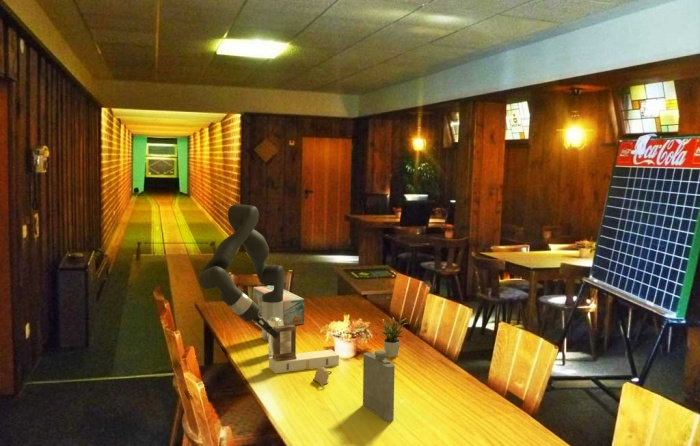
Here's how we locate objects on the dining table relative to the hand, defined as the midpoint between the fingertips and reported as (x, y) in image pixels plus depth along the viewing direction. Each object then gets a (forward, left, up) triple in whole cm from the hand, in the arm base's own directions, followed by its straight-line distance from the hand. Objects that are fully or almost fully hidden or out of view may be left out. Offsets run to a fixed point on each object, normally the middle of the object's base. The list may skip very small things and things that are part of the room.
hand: (273, 333), depth 241 cm
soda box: (-75, -36, -15) cm, 85 cm away
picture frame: (-3, +3, -10) cm, 11 cm away
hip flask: (+25, +50, -14) cm, 57 cm away
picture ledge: (-8, +9, -14) cm, 19 cm away
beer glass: (-17, -8, -14) cm, 24 cm away
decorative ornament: (+6, +22, -14) cm, 27 cm away
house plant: (-35, +38, -14) cm, 54 cm away
